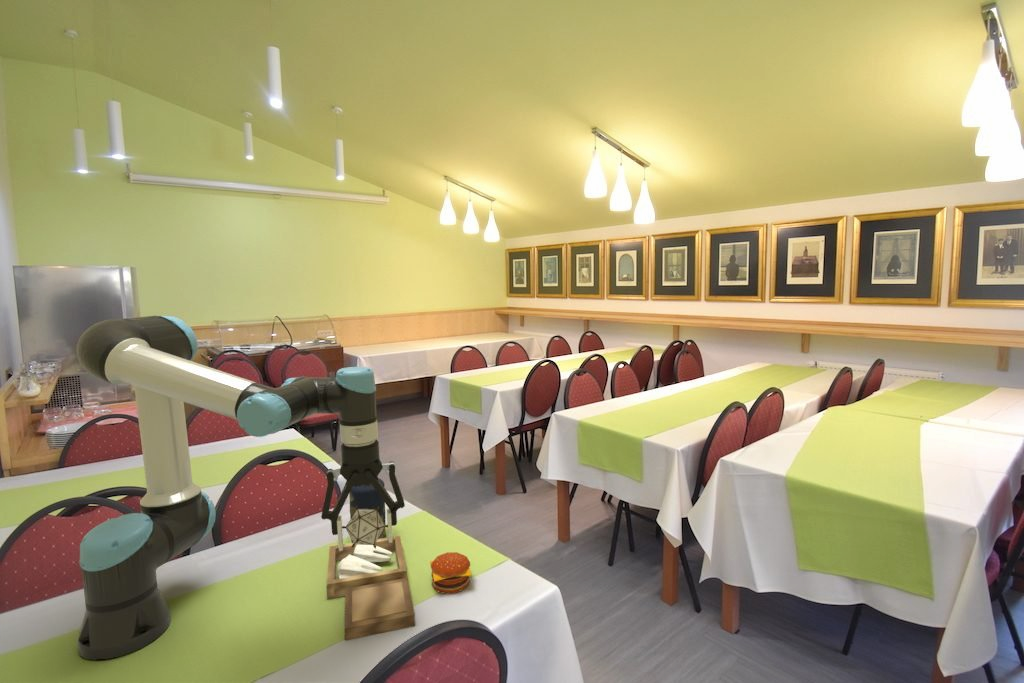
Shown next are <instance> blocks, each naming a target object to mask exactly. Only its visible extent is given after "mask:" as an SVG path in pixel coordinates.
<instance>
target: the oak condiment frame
mask: <svg viewBox="0 0 1024 683" xmlns="http://www.w3.org/2000/svg"><path fill="white" fill-rule="evenodd" d="M392 541H393V542H392V543H389V539H388V537H385V538H382V539H378V540H377V541H376V543H375V545H376V546H378V547H381V548H383V549H386V550H388V551H390V552H392V553H395V558H396V563H397V564H396V565H397V568H393V569H388V570H382V571H376V573H370V574H364V575H358V576H353V577H347V578H341V579H339V578H337V579H336V574H337V573H336V572H337V570H336V569H337V562H341V560H342V559H344V558H346V557H347V556H348V555H349V554H350V555H353V554H354V550H355V547H356V546H357V544H355V546H354V547H352V545H353V544H354V543H353V542H349V543H343V551H339V545H338V544H337V545H331V546H329V550H328V561H327V563H328V564H327V572H326V573H327V574H326V575H327V576H326V599H327V600H330V599H335V598H340V597H345V589H348V588H353V587H359V586H364V585H370V584H376V583H381V582H387V581H392V580H398V579H404V578H408V571H407V565H406V560H405V554H404V550H403V545H402V544H403V543H402V540H401V536H400V535H396V536H392ZM353 556H354V555H353Z"/></svg>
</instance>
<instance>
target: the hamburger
mask: <svg viewBox="0 0 1024 683" xmlns="http://www.w3.org/2000/svg"><path fill="white" fill-rule="evenodd" d="M429 563H430V568H431V577H432V579H431V585H432V588H433V587H434V588H433V589H434V590H435V591H436V590H437V592H438V591H439V593H441V592H444V593H443V594H446V593H449V594H455V593H454V592H456V593H458V592H457V591H459V592H461V591H460V590H462V589H463V590H465V589H466V588H467V587H468V586H469V584H470V577H472V572H471V568H470V567H471V561H470V560H469V558H468V556H466V555H464V554H462V553H459V552H457V551H456V552H455V551H454V552H453V551H452V552H449V551H448V552H444V553H442V554H439V555H437V556H436V557H435V558H434V559H433V560H430V561H429ZM467 585H468V586H467ZM465 587H466V588H465ZM464 588H465V589H464ZM463 590H462V591H463Z"/></svg>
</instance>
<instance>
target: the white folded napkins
mask: <svg viewBox="0 0 1024 683" xmlns="http://www.w3.org/2000/svg"><path fill="white" fill-rule="evenodd" d="M353 555H354V556H353ZM353 555H350V554H349V555H348V556H347V557H346V558H344V559H342V560H340V561H339V563H338V564H337V567H336V569H337V570H336V571H337V575H338V576H337V577H338V579H341V578H347V577H353V576H358V575H364V574H370V573H376V572H382V571H384V570H383V567H382V566H379V565H377V564H376V563H384V562H387V561H391V559H392V558H391V557H390V556H393V555H394V552H390V551H388V550H386V549H383V548H381V547H378V546H376V549H375V548H374V547H373V545H359V544H357V546H356V547H355V550H354V554H353Z"/></svg>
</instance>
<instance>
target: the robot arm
mask: <svg viewBox="0 0 1024 683" xmlns="http://www.w3.org/2000/svg"><path fill="white" fill-rule="evenodd" d="M198 349H199V347H198V340H197V337H196V334H195V332H194V330H193V329H192V327H191V326H190V325H188V324H187V323H186V322H185V321H184V320H182V319H181V318H178V317H176V316H171V315H156V314H155V315H149V316H147V315H146V316H139V317H127V318H113V319H105V320H102V321H99V322H96V323H94V324H93V325H91V326H90V327H88V328H87V329H86V330H85V331H84V332H83V333H82V334H81V335H80V337H79V339H78V341H77V343H76V356H77V359H78V361H79V362H78V363H79V365H81V367H82V369H84V370H85V371H86V372H87V373H88V374H90V375H91V376H92V377H95V378H96V379H98V380H100V381H103V382H107V383H109V384H112V385H115V386H119V387H125V386H132V387H133V388H134V392H135V393H134V394H135V402H136V403H135V404H136V410H137V418H138V419H137V420H138V426H139V434H140V441H141V444H140V445H141V450H142V461H143V467H144V475H145V485H146V493H145V495H143V497H142V498H141V499H140V500H139V506H140V508H139V509H140V513H139V512H132V513H125V514H122V515H119V516H118V517H112V518H110V519H107V520H105V521H103V522H101V523H99V524H98V525H96V526H94V527H93V528H91V529H90V530H89V531H88V532H87V533H86V534H85V535H84V537H83V538H82V539H81V542H80V544H79V558H78V559H79V566H80V569H81V577H82V586H83V594H84V604H85V612H84V616H83V620H82V622H81V626H80V630H79V633H78V636H77V648H78V649H77V651H78V654H79V656H80V655H81V656H82V657H81V658H83V657H84V658H83V659H85V658H87V659H86V660H89V659H94V660H93V661H97V660H96V659H106V660H110V659H109V658H111V659H115V658H114V657H116V658H119V657H123V656H125V654H126V655H128V654H131V653H133V652H136V651H137V650H139V649H140V650H141V649H142V648H144V647H146V646H147V645H149V644H151V643H152V642H154V641H155V640H156V639H158V638H159V637H160V636H162V635H163V634H164V632H166V630H167V629H168V627H170V624H171V610H170V607H169V604H168V603H167V601H166V600H165V597H164V596H163V594H162V592H161V591H160V589H159V588H158V587H159V586H158V580H157V576H158V575H157V570H158V568H160V567H161V566H163V565H165V564H166V563H167V562H169V561H171V560H172V559H174V558H175V557H177V556H178V555H180V554H181V553H184V552H185V551H186V550H187V549H190V548H193V547H194V546H195V545H197V544H198V543H199V542H200V541H202V539H204V538H205V537H206V536H207V535H209V533H210V532H211V530H212V529H213V527H214V524H215V522H216V517H217V516H216V508H215V504H214V502H213V500H210V496H209V495H208V494H207V493H204V492H203V491H202V488H201V486H199V485H197V484H196V483H194V482H193V476H192V475H193V474H192V467H191V459H190V458H191V456H190V448H189V447H190V446H189V440H188V431H187V430H188V429H187V423H186V412H185V405H184V403H186V404H189V405H192V406H195V407H198V408H200V409H201V408H202V409H205V410H207V411H211V412H213V413H216V414H219V415H223V416H225V417H228V418H231V419H234V420H236V421H237V423H238V425H239V427H240V428H241V429H243V431H244V432H245V433H246V434H247V435H249V436H251V437H255V438H259V437H260V438H261V437H266V436H268V435H273V434H276V433H278V432H281V431H282V430H284V429H286V428H287V427H290V426H291V425H293V424H296V423H298V422H301V421H302V420H305V419H307V418H309V417H311V416H313V415H318V414H319V415H320V414H321V415H323V414H326V415H327V414H328V415H329V414H330V415H331V414H332V415H335V414H336V415H337V414H338V419H339V420H338V421H339V434H340V442H341V443H342V444H341V445H340V451H341V452H340V453H341V454H340V455H341V466H340V468H336V469H333V468H329V469H328V470H327V472H326V480H327V485H326V486H327V487H326V491H325V497H324V501H323V506H322V511H321V516H320V517H321V519H322V520H329V521H330V522H331V523H330V524H331V525H330V526H331V534H332V535H333V536H336V535H337V543H338V544H337V545H339V551H343V544H344V538H343V528H341V527H343V524H342V523H343V522H342V521H343V520H342V515H340V513H341V511H342V509H343V507H344V504H345V502H346V501H347V499H348V497H349V493H350V491H351V489H352V487H353V486H355V487H359V486H362V485H365V486H367V485H370V484H372V485H373V487H374V488H375V489H376V490H377V492H378V493H379V495H380V496H381V497H382V499H383V500H384V502H385V506H387V507H388V508H386V517H387V518H386V519H387V520H386V522H387V525H388V528H387V536H388V537H387V538H388V539H389V543H392V542H393V541H392V537H393V526H397V524H398V518H397V516H398V515H397V511H398V510H399V509H403V508H404V507H405V505H406V504H405V499H404V497H403V494H402V491H401V488H400V486H399V482H398V479H397V475H396V464H395V462H394V461H389V462H387V463H385V462H384V463H382V462H381V458H380V446H379V445H380V443H379V441H378V440H377V439H378V438H379V427H378V424H379V423H378V415H377V386H376V381H375V379H376V378H375V373H374V370H373V369H372V368H370V367H368V366H349V367H342V368H340V369H338V370H337V371H336V374H335V377H319V376H318V377H311V376H310V377H309V376H299V377H290V378H287V379H286V380H284V383H282V384H281V386H279V387H271V386H267V385H265V384H262V383H259V382H256V381H254V380H251V379H250V380H249V379H247V378H243V377H240V376H238V375H235V374H231V373H228V372H225V371H223V370H219V369H216V368H213V367H210V366H207V365H204V364H201V363H198V362H196V361H193V360H194V358H195V356H196V355H197V352H198ZM382 470H384V472H385V474H386V475H388V476H389V481H390V484H391V487H392V489H393V493H394V495H395V499H396V500H395V501H394V499H393V497H392V496H391V495H390V494H389V492H388V491H387V489H386V488H385V485H384V486H383V485H382V483H381V482H380V480H379V479H380V478H379V474H380V473H381V471H382ZM339 476H342V477H343V479H344V480H345V481H346V482H345V483H344V486H343V488H342V490H341V492H340V494H339V496H338V498H337V501H336V503H335V505H334V507H333V509H332V510H330V507H331V501H332V498H333V497H332V496H333V492H334V487H335V482H336V481H337V480H338V479H339ZM153 640H154V641H153ZM122 655H123V656H122ZM118 656H119V657H118Z"/></svg>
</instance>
